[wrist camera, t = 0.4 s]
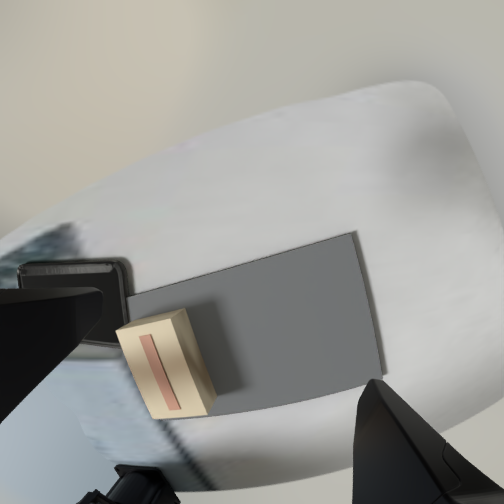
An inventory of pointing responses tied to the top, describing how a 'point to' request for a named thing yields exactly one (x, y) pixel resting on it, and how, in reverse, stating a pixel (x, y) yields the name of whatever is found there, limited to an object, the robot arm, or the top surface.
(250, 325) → the mat
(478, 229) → the top surface
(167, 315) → the beige wooden block
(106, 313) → the phone
